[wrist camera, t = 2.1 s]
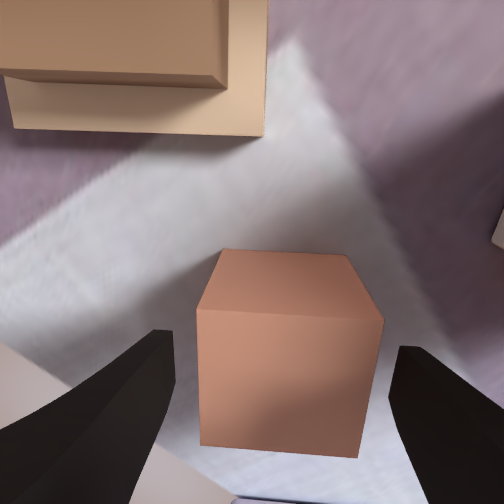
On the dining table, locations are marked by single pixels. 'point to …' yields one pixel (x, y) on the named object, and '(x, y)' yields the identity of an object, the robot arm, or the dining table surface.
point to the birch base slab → (161, 94)
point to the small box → (499, 233)
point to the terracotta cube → (286, 353)
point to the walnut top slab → (116, 42)
